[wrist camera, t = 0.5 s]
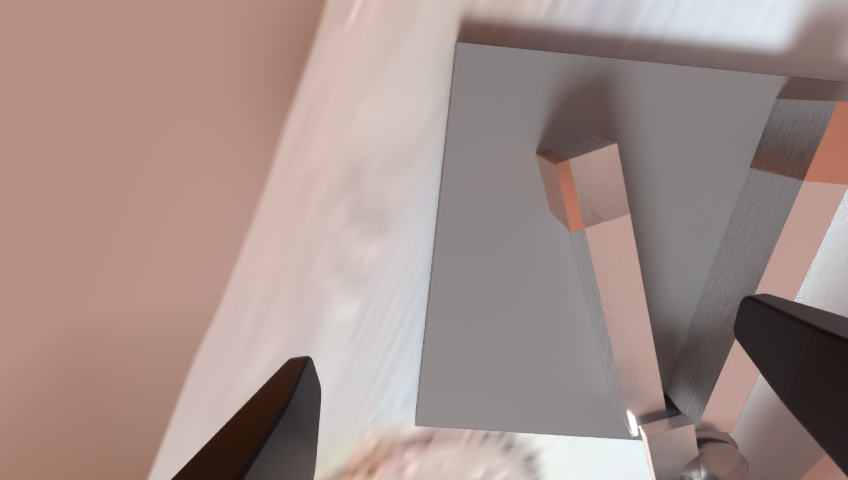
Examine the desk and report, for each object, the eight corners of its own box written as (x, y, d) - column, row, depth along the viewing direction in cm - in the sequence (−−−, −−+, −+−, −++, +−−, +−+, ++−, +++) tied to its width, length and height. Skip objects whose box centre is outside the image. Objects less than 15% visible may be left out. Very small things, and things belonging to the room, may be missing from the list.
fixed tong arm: (690, 443, 26) (723, 486, 23) (630, 439, 26) (656, 482, 23) (836, 105, 19) (910, 108, 16) (754, 96, 19) (813, 98, 16)
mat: (710, 433, 27) (720, 445, 26) (415, 413, 26) (415, 426, 26) (865, 86, 20) (888, 86, 19) (455, 44, 19) (457, 42, 18)
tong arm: (702, 430, 26) (750, 488, 22) (612, 453, 27) (644, 514, 23) (655, 110, 19) (714, 116, 15) (535, 153, 20) (562, 169, 16)
